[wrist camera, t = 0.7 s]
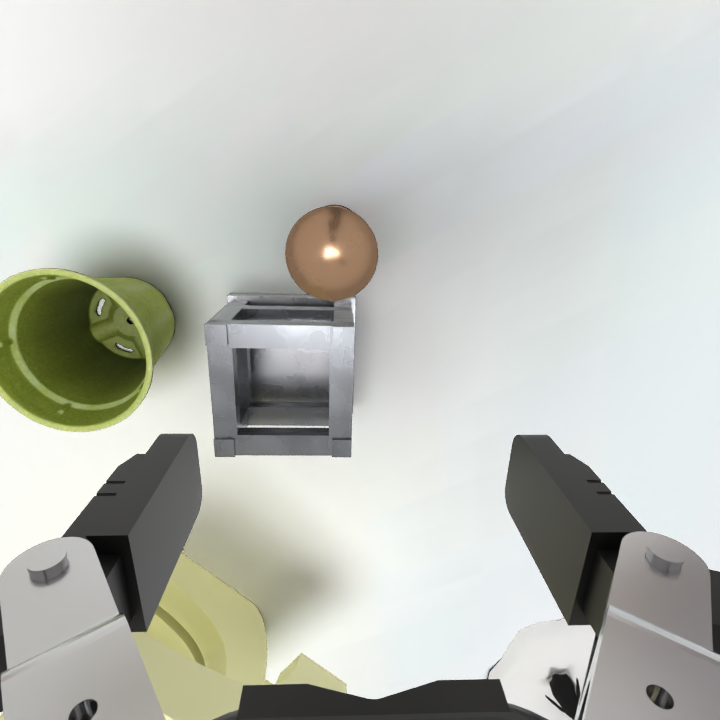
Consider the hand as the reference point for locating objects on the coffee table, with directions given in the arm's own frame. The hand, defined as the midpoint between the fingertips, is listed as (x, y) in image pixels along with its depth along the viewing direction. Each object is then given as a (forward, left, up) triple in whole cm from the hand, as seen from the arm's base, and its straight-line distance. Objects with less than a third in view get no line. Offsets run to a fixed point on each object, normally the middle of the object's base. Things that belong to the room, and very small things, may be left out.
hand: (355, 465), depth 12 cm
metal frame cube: (+5, -4, -23) cm, 24 cm away
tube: (-4, -1, -23) cm, 24 cm away
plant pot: (+2, -16, -23) cm, 28 cm away
